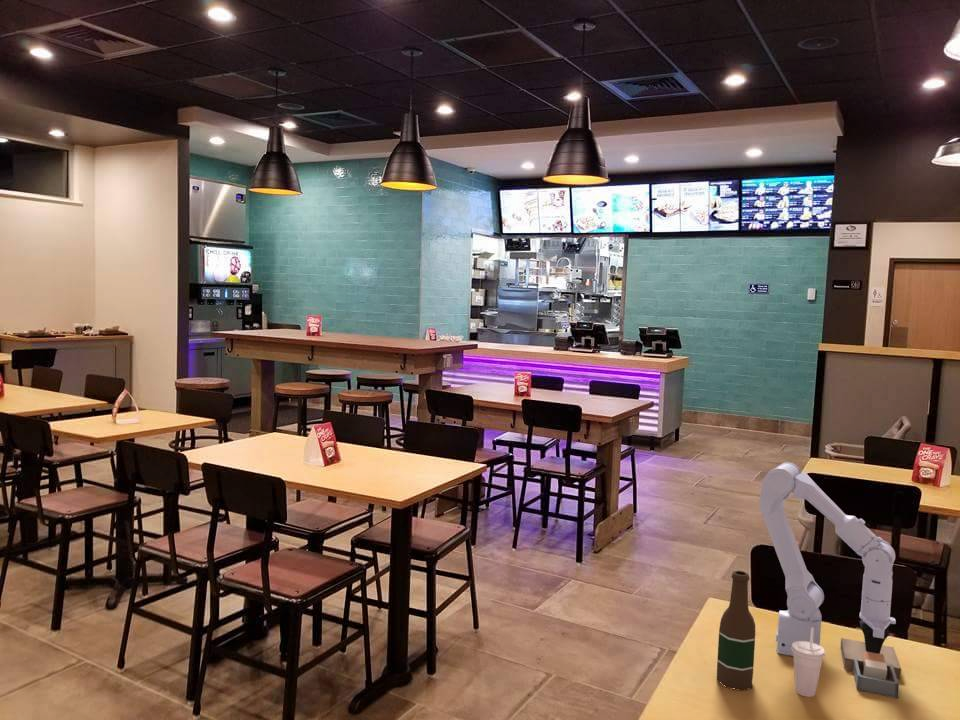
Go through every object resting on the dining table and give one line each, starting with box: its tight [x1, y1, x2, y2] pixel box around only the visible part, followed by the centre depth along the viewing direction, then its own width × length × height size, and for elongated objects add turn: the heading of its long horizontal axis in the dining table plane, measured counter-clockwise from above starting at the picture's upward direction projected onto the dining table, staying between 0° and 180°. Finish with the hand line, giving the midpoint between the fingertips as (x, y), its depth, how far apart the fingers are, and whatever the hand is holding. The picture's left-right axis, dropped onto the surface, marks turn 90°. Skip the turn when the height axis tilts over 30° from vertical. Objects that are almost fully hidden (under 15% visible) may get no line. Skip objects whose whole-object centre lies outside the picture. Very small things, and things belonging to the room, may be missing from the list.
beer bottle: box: [716, 570, 756, 691], centre depth 155 cm, size 8×8×24 cm
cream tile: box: [863, 659, 887, 680], centre depth 157 cm, size 4×4×2 cm
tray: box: [852, 658, 900, 699], centre depth 157 cm, size 8×9×3 cm
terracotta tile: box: [862, 651, 885, 667], centre depth 160 cm, size 4×4×2 cm
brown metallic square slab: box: [840, 637, 902, 680], centre depth 166 cm, size 11×11×2 cm
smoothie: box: [791, 627, 826, 698], centre depth 152 cm, size 6×6×14 cm
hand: (872, 656), depth 162 cm, fingers closed
